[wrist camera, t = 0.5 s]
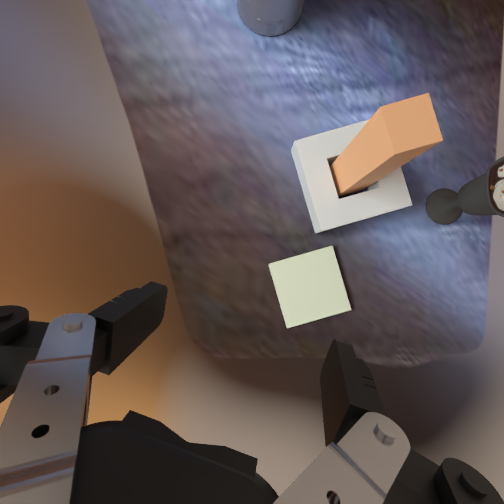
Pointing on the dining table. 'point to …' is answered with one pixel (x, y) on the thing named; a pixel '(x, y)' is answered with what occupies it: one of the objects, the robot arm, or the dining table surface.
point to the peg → (386, 143)
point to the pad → (309, 286)
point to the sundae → (470, 197)
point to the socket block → (323, 188)
